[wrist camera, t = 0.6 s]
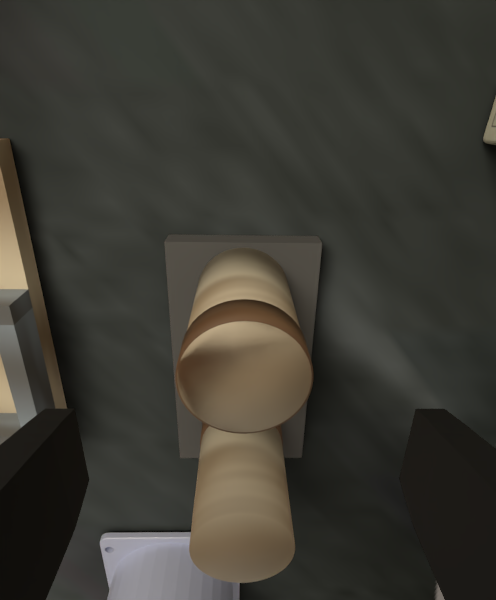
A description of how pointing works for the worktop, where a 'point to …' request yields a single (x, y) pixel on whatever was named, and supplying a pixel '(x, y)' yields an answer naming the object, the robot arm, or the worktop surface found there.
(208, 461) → the sleeve band down
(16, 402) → the socket board
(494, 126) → the skincare box
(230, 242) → the pad
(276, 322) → the sleeve band up
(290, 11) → the worktop surface
